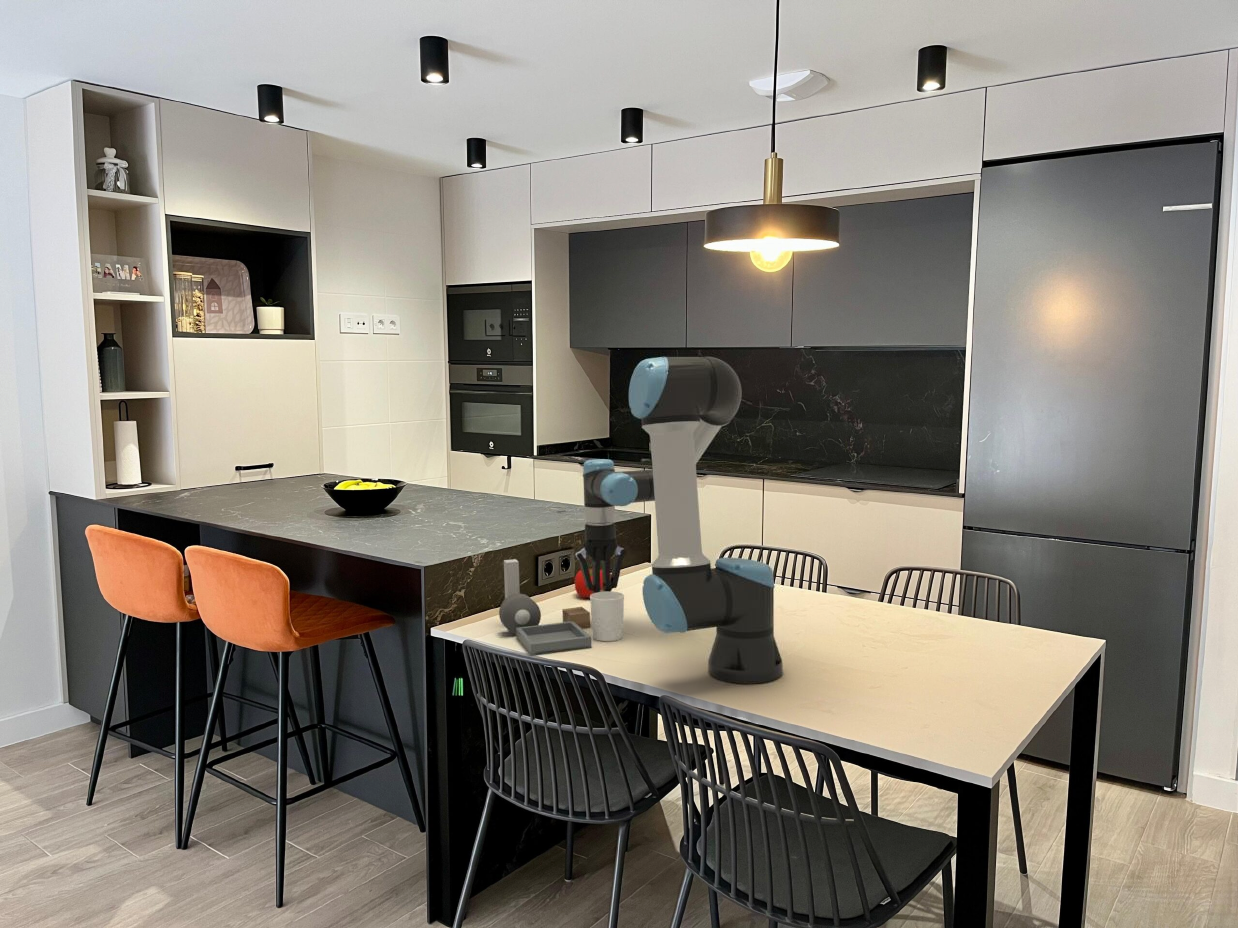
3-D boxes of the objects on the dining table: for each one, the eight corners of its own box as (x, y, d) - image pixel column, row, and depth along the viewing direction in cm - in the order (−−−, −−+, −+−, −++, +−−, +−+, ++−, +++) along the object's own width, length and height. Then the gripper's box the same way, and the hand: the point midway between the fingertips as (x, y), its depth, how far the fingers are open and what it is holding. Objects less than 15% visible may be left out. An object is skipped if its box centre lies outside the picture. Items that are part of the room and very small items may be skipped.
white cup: (626, 632, 215) (625, 591, 214) (623, 642, 207) (622, 599, 206) (593, 632, 216) (592, 591, 215) (589, 642, 208) (587, 599, 207)
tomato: (620, 594, 252) (619, 567, 251) (598, 603, 243) (598, 575, 242) (588, 589, 258) (588, 563, 257) (566, 598, 248) (565, 571, 248)
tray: (591, 647, 204) (591, 636, 204) (531, 655, 199) (530, 644, 199) (573, 631, 217) (573, 620, 217) (516, 638, 212) (515, 627, 212)
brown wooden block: (590, 628, 220) (589, 612, 219) (570, 631, 218) (570, 614, 217) (582, 622, 225) (581, 606, 225) (562, 624, 223) (562, 609, 223)
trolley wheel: (541, 633, 216) (539, 567, 214) (504, 637, 213) (502, 571, 211) (529, 620, 227) (527, 558, 225) (494, 625, 224) (491, 561, 222)
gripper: (619, 518, 227) (621, 610, 229) (570, 522, 223) (572, 616, 225) (630, 523, 220) (632, 617, 222) (578, 527, 215) (581, 623, 218)
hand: (602, 616), depth 224 cm, fingers closed
